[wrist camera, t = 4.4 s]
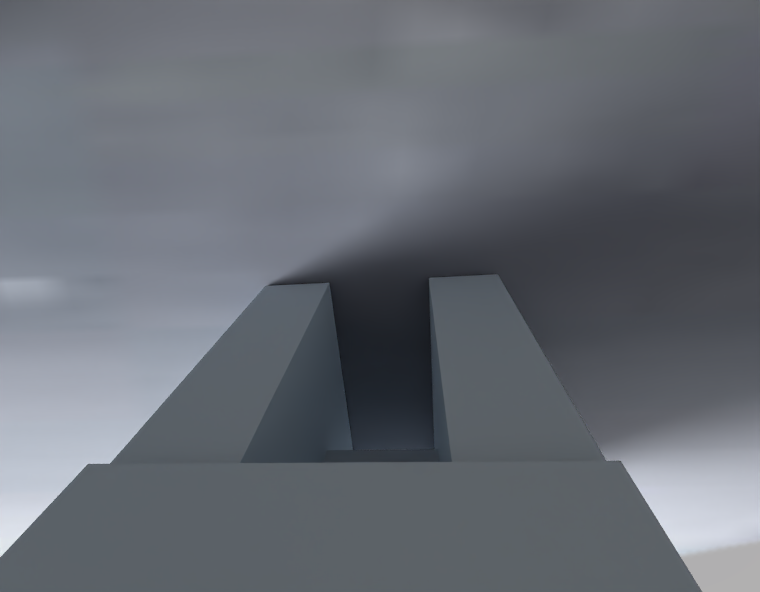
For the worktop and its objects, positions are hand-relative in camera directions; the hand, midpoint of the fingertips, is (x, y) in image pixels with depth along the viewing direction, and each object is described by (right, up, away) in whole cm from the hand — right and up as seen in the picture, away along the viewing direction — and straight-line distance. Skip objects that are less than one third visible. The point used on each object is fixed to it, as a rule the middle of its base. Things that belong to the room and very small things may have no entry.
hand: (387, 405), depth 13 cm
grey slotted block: (0, 0, +1) cm, 1 cm away
